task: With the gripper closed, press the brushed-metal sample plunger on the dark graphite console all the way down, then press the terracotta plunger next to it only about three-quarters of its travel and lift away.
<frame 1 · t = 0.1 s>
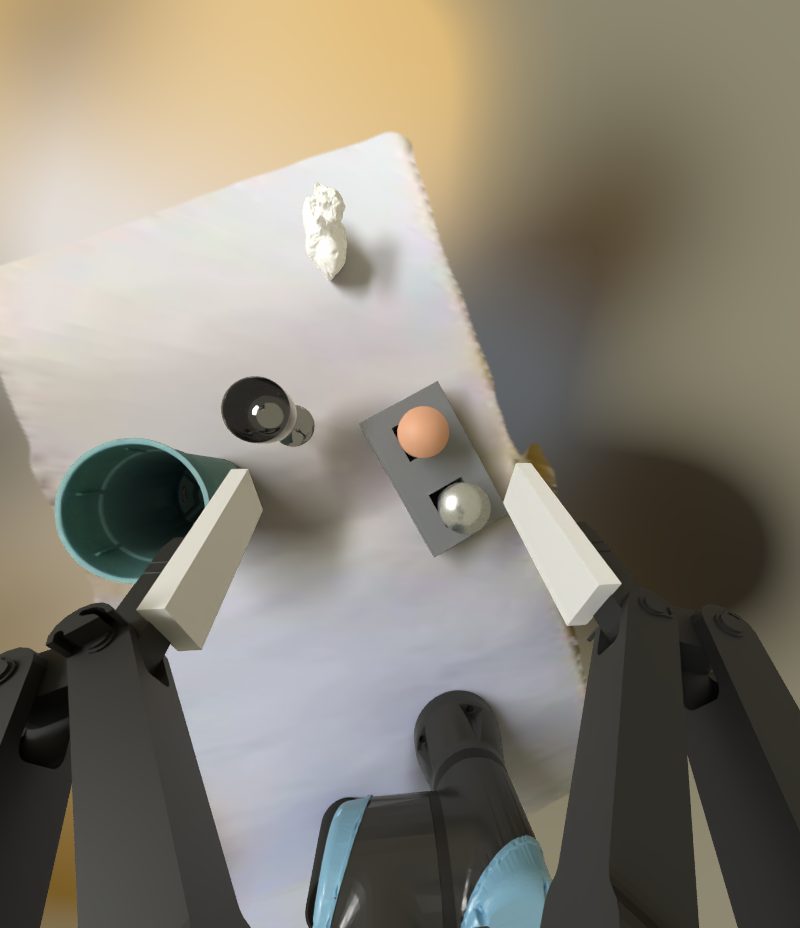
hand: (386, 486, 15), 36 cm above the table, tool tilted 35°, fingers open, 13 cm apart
bust: (329, 253, 49), on the table
flower pot: (215, 494, 48), on the table
sample plunger: (458, 504, 43), point 9 cm above the table, slide at 0.0 cm
press console: (428, 468, 51), on the table
wine glass: (293, 425, 49), on the table
pen holder: (346, 818, 50), on the table
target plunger: (419, 434, 42), point 9 cm above the table, slide at 0.0 cm
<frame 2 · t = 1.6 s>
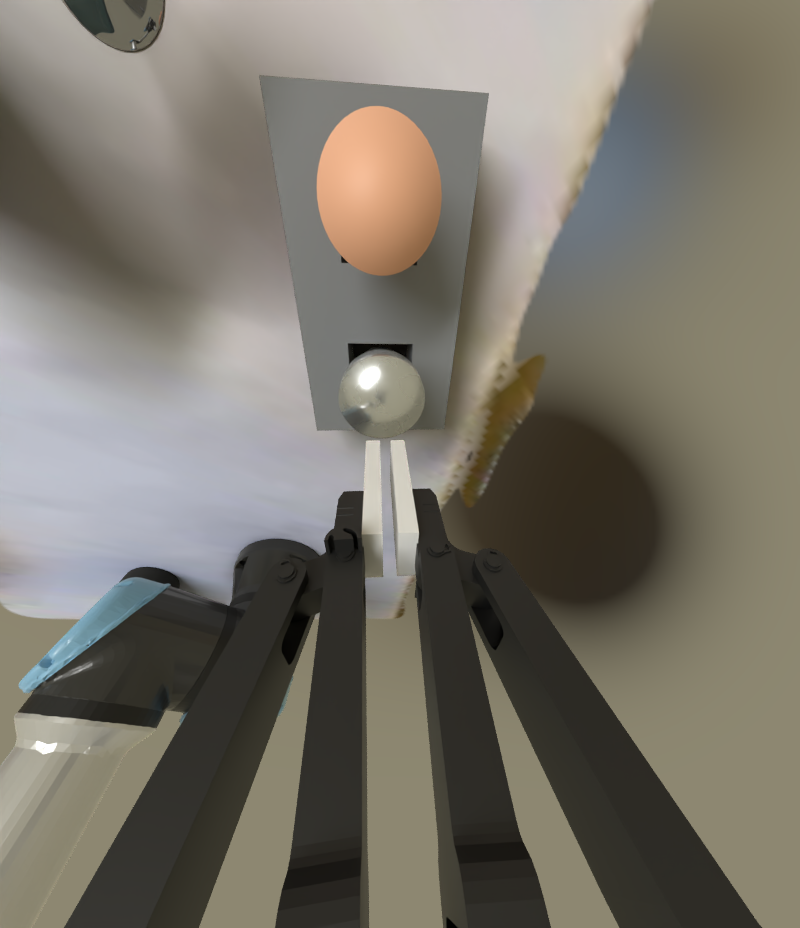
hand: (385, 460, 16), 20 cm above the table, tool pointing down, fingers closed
sample plunger: (381, 385, 26), point 9 cm above the table, slide at 0.0 cm
press console: (379, 298, 29), on the table
pen holder: (155, 578, 54), on the table
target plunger: (379, 209, 19), point 9 cm above the table, slide at 0.0 cm
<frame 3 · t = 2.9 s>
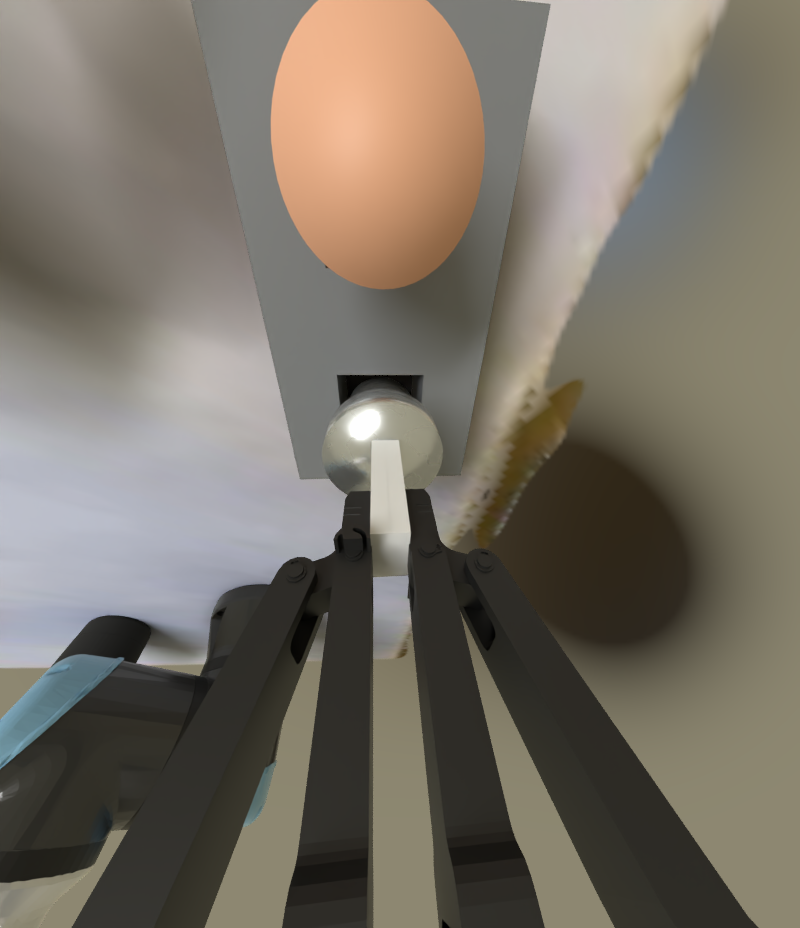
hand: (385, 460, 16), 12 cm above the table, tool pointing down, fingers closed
sample plunger: (382, 430, 19), point 8 cm above the table, slide at 0.1 cm, touching gripper
press console: (378, 312, 23), on the table
pen holder: (122, 626, 47), on the table
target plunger: (379, 188, 12), point 9 cm above the table, slide at 0.0 cm
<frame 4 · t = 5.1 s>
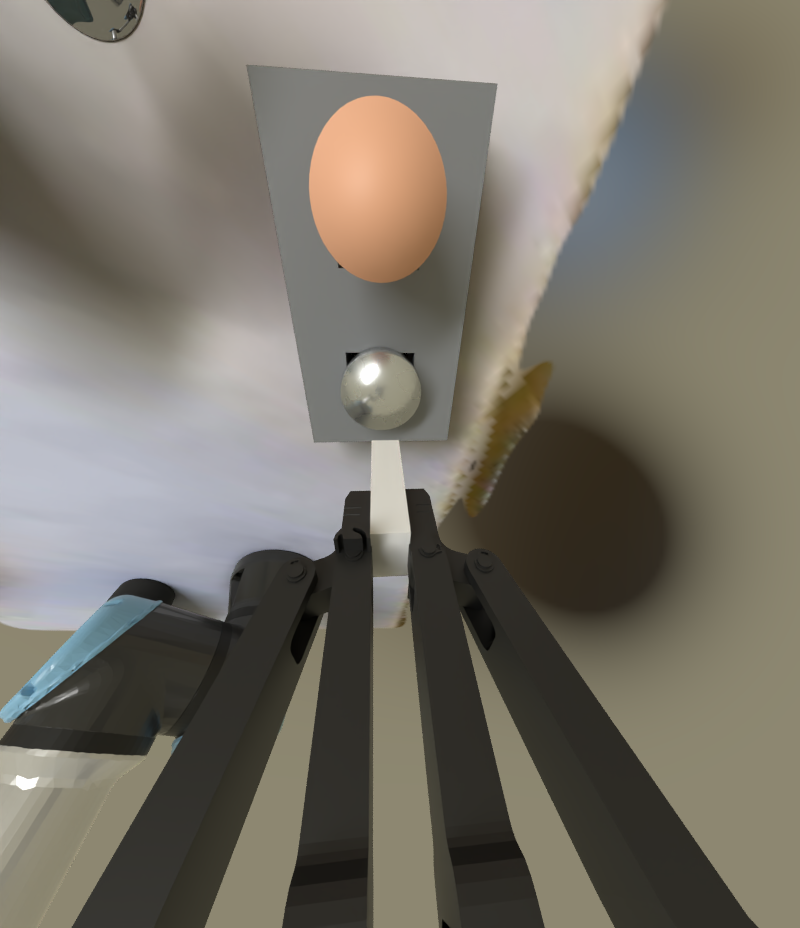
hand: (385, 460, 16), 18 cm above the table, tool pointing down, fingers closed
sample plunger: (380, 380, 28), point 5 cm above the table, slide at 3.9 cm
press console: (378, 304, 28), on the table
pen holder: (150, 589, 53), on the table
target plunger: (378, 211, 17), point 9 cm above the table, slide at 0.0 cm
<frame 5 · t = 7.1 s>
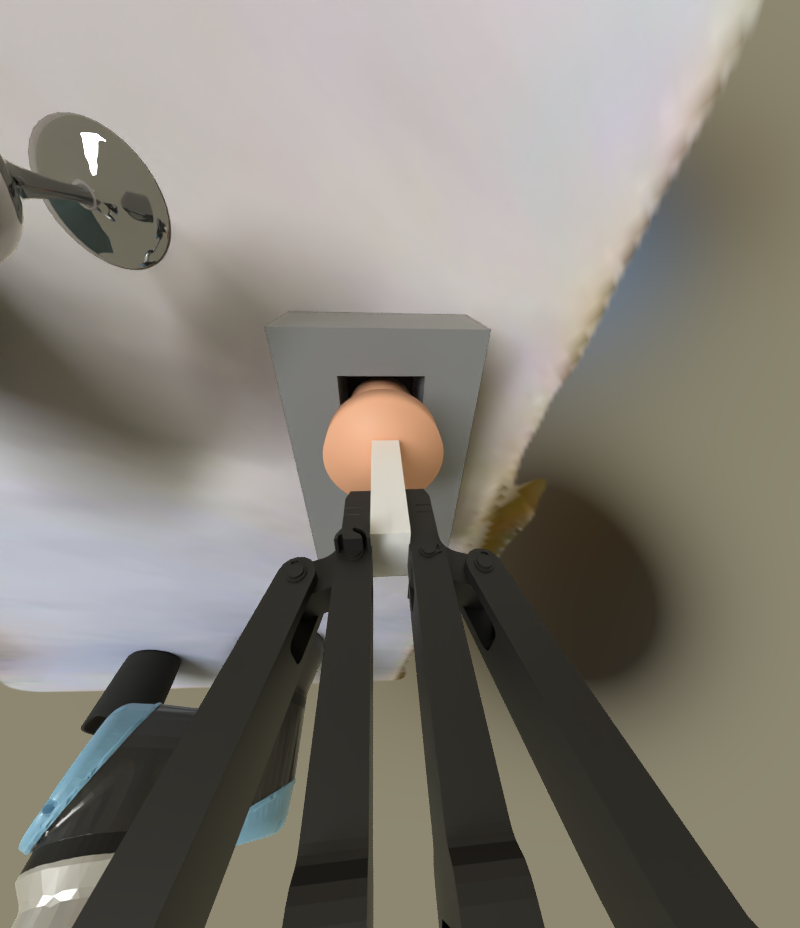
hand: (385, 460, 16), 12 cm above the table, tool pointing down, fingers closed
press console: (381, 442, 30), on the table
wine glass: (106, 200, 18), on the table
pen holder: (156, 657, 54), on the table
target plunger: (382, 429, 19), point 8 cm above the table, slide at 0.4 cm, touching gripper
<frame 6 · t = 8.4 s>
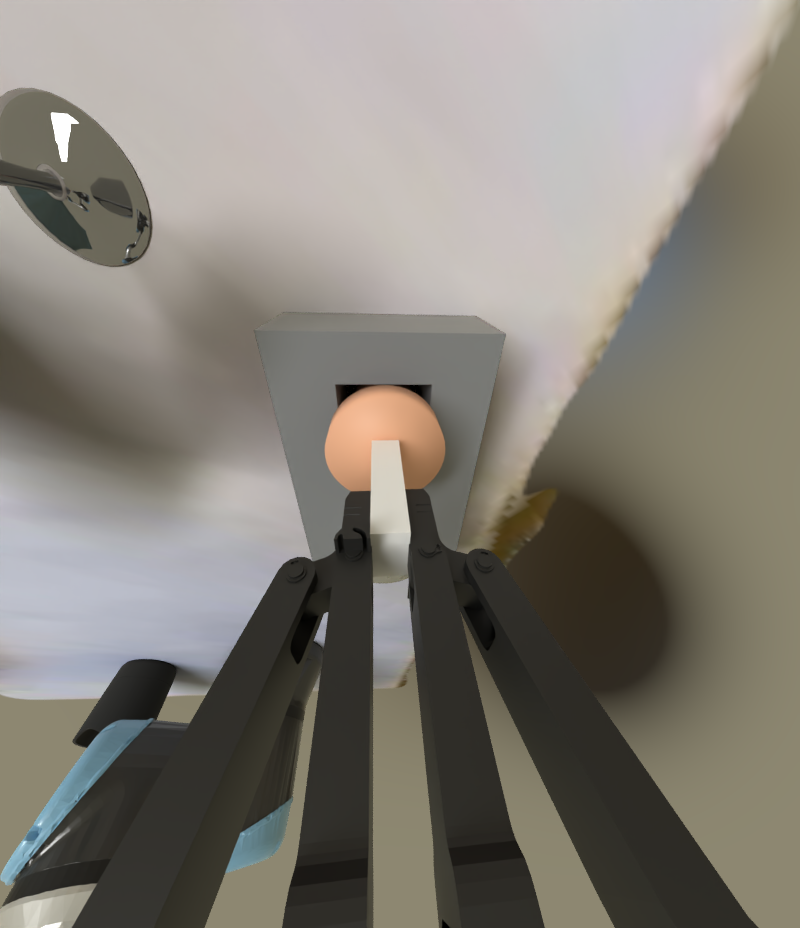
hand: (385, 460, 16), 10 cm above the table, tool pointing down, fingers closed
sample plunger: (384, 529, 28), point 5 cm above the table, slide at 3.9 cm
press console: (383, 451, 28), on the table
wine glass: (79, 189, 16), on the table
pen holder: (151, 666, 53), on the table
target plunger: (384, 426, 19), point 6 cm above the table, slide at 2.6 cm
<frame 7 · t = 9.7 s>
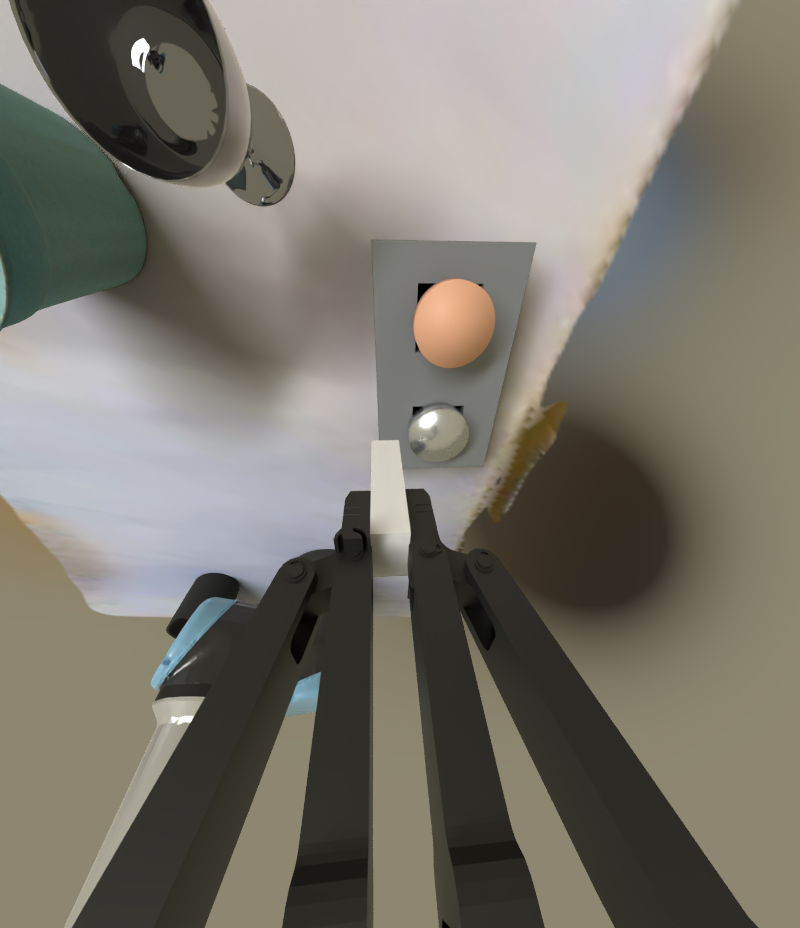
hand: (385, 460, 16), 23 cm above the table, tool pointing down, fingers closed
flower pot: (71, 208, 26), on the table
sample plunger: (434, 423, 36), point 5 cm above the table, slide at 3.9 cm
press console: (432, 363, 36), on the table
wine glass: (251, 149, 24), on the table
pen holder: (218, 582, 62), on the table
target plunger: (447, 319, 28), point 6 cm above the table, slide at 2.6 cm
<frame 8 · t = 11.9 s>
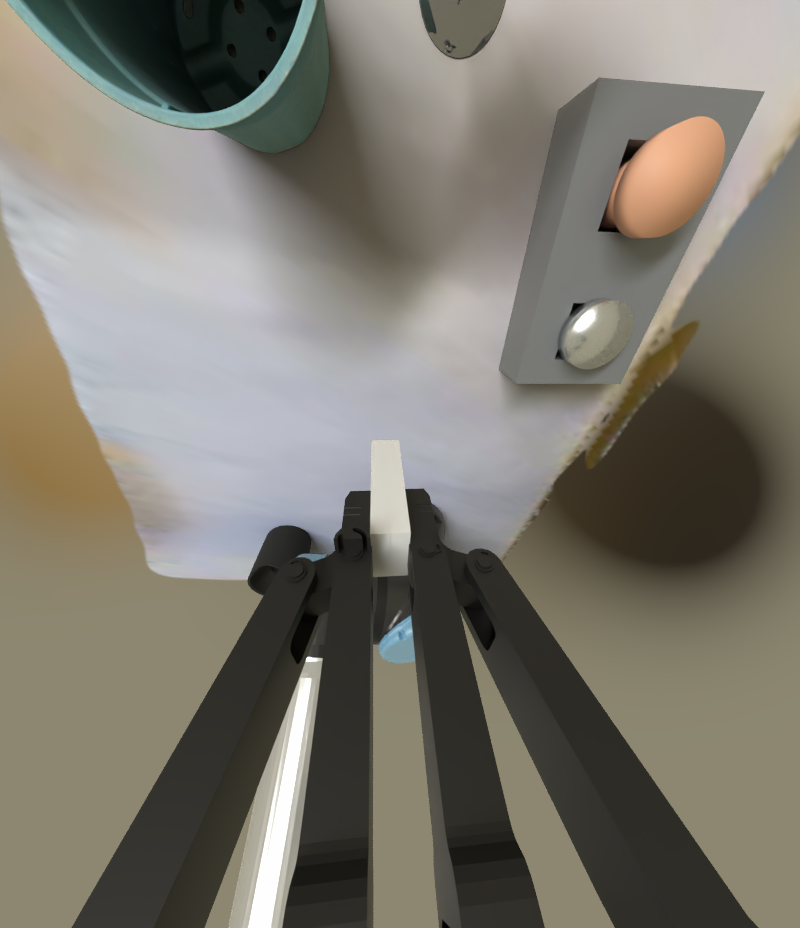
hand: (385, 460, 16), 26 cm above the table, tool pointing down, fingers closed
flower pot: (254, 51, 24), on the table
sample plunger: (581, 330, 34), point 5 cm above the table, slide at 3.9 cm
press console: (578, 268, 34), on the table
pen holder: (289, 538, 59), on the table
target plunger: (642, 190, 26), point 6 cm above the table, slide at 2.6 cm
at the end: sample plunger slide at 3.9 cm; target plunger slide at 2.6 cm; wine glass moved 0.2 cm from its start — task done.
